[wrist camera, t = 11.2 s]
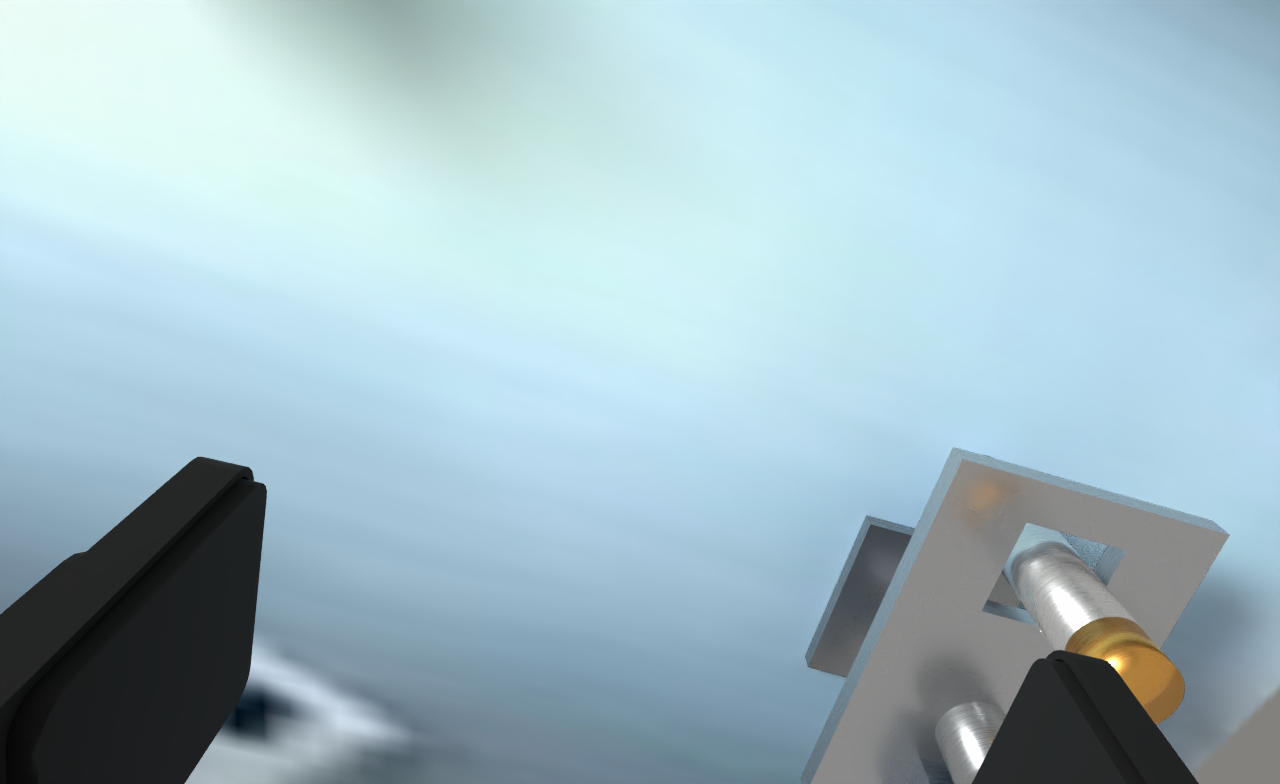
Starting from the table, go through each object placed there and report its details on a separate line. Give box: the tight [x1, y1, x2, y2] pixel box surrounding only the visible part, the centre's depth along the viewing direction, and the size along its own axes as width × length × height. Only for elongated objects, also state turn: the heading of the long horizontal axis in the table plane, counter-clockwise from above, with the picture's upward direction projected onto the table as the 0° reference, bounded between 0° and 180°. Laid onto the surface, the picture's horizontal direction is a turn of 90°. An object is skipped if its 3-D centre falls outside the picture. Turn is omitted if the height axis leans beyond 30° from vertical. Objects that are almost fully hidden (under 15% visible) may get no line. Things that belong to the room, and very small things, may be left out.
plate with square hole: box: [801, 447, 1229, 784], centre depth 36 cm, size 20×10×11 cm, turn 164°
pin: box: [983, 455, 1185, 724], centre depth 32 cm, size 3×3×14 cm
